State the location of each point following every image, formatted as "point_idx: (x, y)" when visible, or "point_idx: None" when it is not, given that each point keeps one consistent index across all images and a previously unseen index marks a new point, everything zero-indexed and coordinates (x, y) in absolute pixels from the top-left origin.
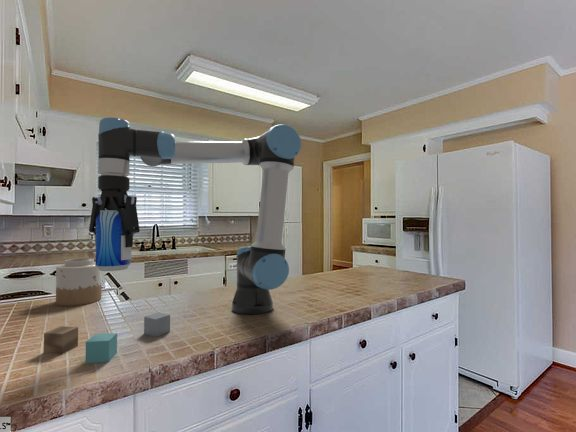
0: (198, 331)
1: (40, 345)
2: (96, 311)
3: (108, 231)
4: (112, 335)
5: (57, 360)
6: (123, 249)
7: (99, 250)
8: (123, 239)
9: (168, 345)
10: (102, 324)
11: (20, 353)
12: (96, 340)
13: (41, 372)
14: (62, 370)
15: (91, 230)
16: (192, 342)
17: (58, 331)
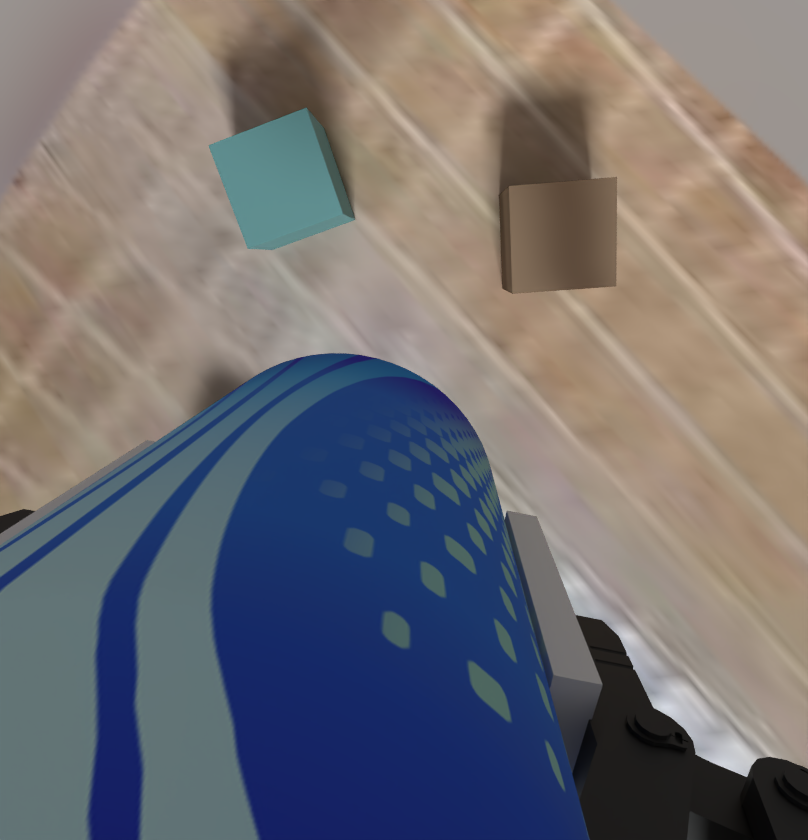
0: None
1: (682, 262)
2: (769, 722)
3: (108, 481)
4: (243, 211)
5: (465, 131)
6: (87, 481)
7: (350, 386)
8: (3, 534)
9: (110, 360)
10: (591, 551)
11: (696, 165)
12: (270, 135)
13: (435, 14)
14: (364, 48)
15: (765, 776)
16: (31, 408)
17: (560, 213)
